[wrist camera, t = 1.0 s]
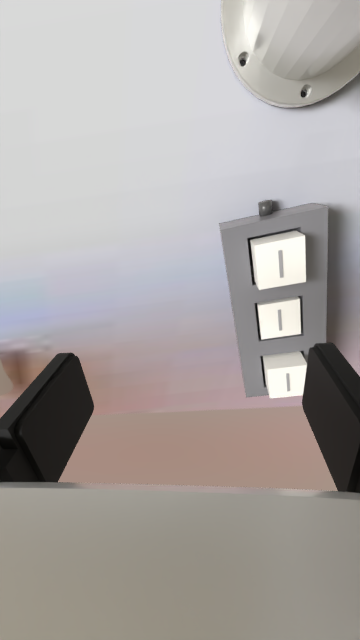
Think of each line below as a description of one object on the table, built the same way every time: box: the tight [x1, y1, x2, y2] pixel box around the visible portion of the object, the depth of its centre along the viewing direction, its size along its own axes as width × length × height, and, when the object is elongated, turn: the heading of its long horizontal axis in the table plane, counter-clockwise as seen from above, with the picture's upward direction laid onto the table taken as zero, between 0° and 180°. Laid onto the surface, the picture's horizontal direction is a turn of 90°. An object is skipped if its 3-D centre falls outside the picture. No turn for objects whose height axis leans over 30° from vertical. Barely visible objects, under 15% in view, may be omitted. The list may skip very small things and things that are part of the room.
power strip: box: [219, 200, 328, 397], centre depth 29 cm, size 21×9×4 cm, turn 13°
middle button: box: [255, 296, 301, 339], centre depth 28 cm, size 4×4×3 cm
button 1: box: [263, 351, 307, 398], centre depth 29 cm, size 4×4×3 cm
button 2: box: [250, 231, 306, 290], centre depth 24 cm, size 4×4×3 cm
